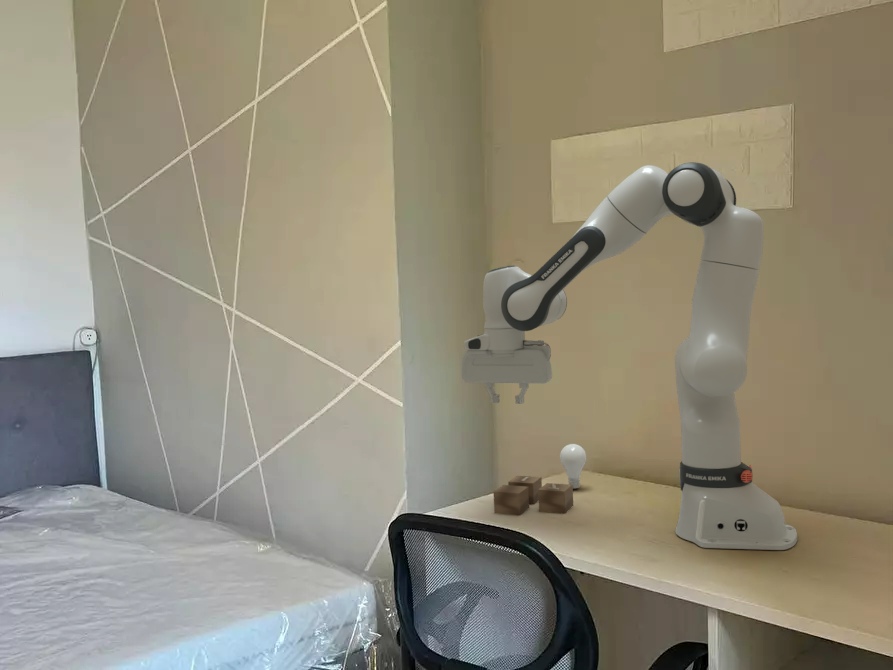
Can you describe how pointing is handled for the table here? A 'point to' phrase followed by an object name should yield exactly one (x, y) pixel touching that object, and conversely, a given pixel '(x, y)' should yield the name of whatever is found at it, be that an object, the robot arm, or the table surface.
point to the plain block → (511, 500)
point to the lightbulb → (573, 462)
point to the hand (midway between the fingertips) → (507, 403)
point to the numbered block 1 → (530, 482)
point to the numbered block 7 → (555, 498)
